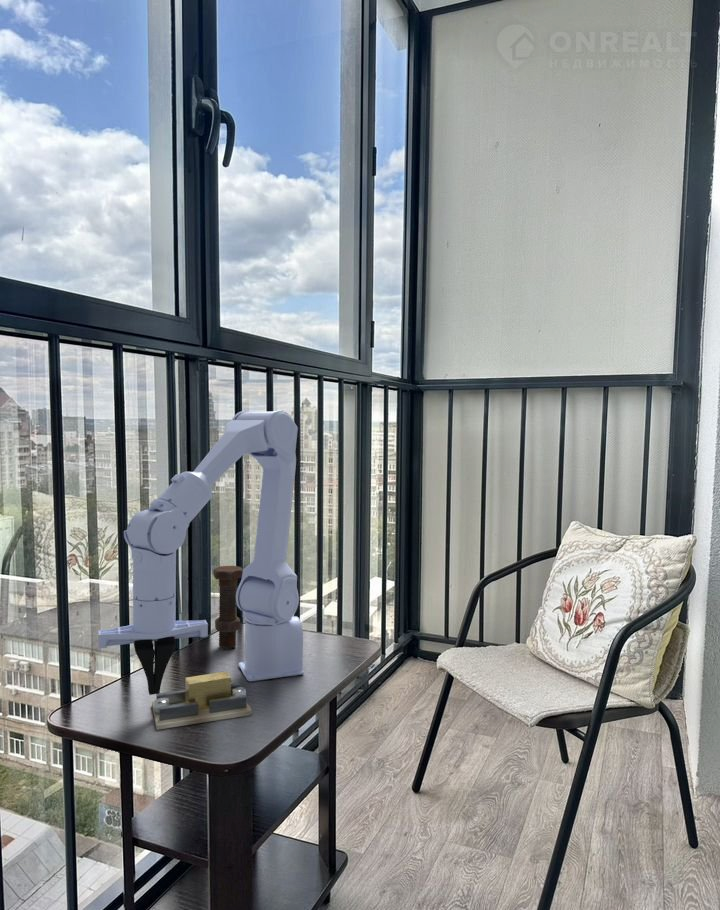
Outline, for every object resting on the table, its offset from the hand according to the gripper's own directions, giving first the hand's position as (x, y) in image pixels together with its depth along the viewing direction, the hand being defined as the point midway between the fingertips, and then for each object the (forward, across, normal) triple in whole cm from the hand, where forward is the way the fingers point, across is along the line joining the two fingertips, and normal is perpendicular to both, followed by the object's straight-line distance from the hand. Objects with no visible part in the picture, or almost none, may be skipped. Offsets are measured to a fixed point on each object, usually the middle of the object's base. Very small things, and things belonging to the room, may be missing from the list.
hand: (153, 691), depth 87 cm
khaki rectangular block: (+3, -8, 0) cm, 8 cm away
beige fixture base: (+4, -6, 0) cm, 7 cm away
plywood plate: (+4, -6, 0) cm, 7 cm away
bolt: (+4, -15, -25) cm, 30 cm away
